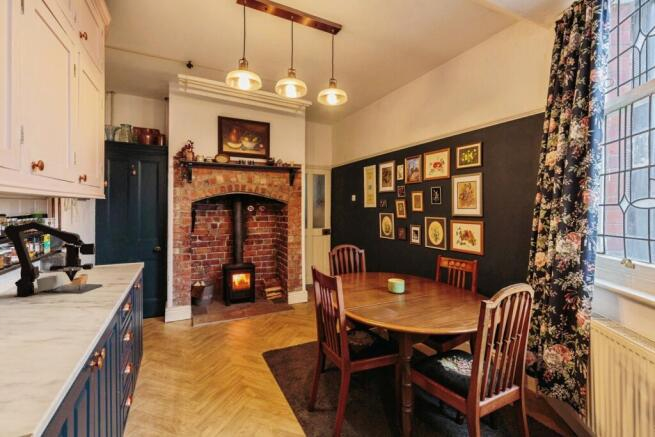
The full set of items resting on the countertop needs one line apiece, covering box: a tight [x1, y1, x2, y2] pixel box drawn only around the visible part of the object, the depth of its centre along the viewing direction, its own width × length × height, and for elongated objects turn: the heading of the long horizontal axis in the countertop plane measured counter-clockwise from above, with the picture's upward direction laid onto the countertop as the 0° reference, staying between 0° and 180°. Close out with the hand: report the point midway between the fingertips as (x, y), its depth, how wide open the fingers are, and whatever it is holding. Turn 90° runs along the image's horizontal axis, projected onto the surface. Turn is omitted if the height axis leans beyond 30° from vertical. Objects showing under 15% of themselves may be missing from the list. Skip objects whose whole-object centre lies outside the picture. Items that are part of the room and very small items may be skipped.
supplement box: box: [36, 273, 65, 292], centre depth 176 cm, size 7×7×13 cm
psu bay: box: [46, 281, 103, 294], centre depth 178 cm, size 16×20×4 cm
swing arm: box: [71, 273, 89, 286], centre depth 179 cm, size 16×4×3 cm, turn 26°
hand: (71, 281), depth 173 cm, fingers closed
